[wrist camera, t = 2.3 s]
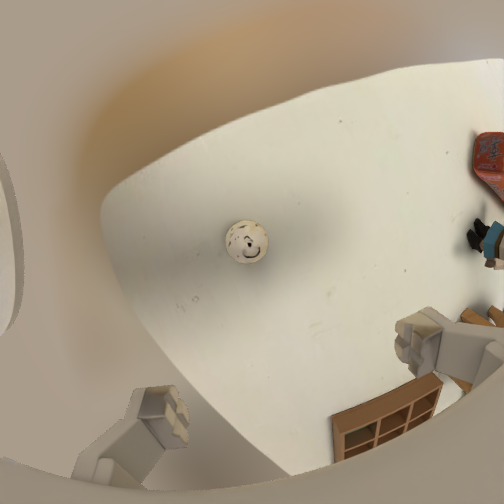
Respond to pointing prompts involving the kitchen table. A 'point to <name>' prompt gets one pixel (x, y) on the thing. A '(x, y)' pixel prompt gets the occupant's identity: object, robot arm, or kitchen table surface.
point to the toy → (489, 243)
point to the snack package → (490, 160)
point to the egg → (246, 242)
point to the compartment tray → (385, 417)
